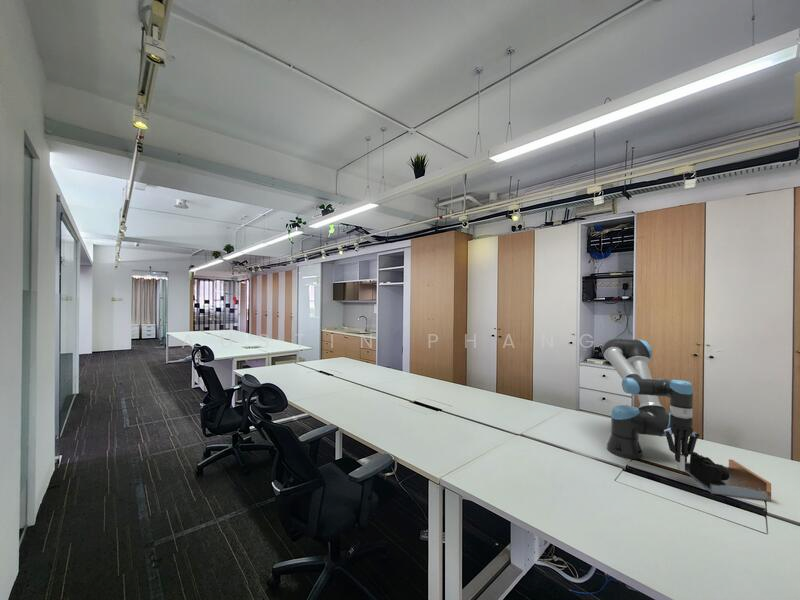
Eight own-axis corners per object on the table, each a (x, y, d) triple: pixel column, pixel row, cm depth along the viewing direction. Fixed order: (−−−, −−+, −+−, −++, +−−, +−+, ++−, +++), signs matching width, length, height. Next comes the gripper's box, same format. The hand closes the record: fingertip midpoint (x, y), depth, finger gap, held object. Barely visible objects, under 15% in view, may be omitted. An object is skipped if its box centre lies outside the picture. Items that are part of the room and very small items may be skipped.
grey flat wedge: (712, 493, 131) (712, 476, 131) (682, 469, 149) (682, 454, 149) (771, 501, 126) (771, 483, 126) (732, 475, 145) (732, 459, 145)
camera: (740, 491, 130) (740, 467, 130) (710, 488, 132) (710, 464, 132) (713, 473, 144) (713, 451, 144) (686, 471, 146) (686, 449, 146)
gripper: (668, 417, 139) (668, 471, 139) (704, 420, 136) (704, 475, 136) (659, 411, 147) (659, 463, 146) (692, 414, 144) (692, 467, 143)
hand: (680, 469), depth 141 cm, fingers closed
